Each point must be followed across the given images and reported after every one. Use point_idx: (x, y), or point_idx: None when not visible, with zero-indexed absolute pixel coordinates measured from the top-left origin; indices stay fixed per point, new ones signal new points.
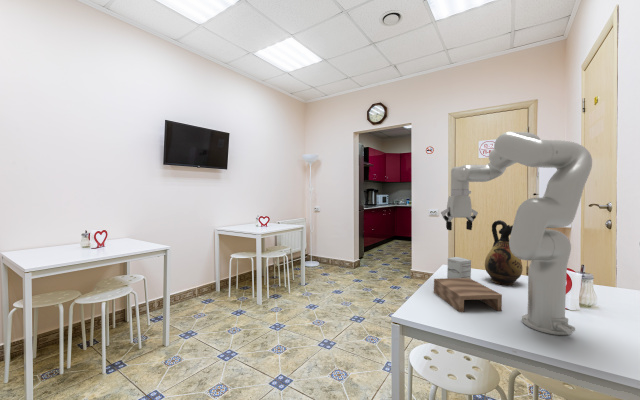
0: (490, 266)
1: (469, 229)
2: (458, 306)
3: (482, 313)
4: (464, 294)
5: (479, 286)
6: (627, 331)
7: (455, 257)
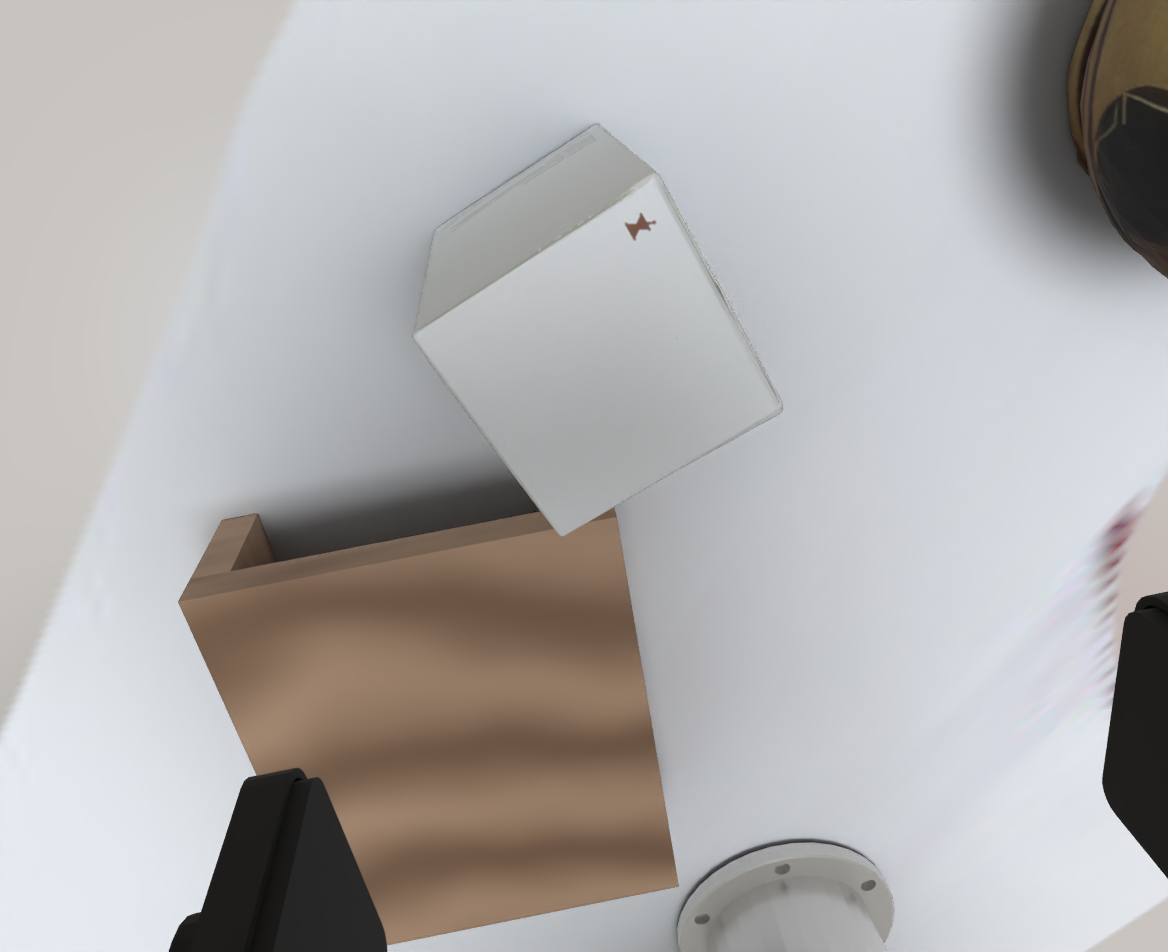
0: (1139, 157)
1: (1112, 772)
2: None
3: None
4: None
5: (594, 752)
6: (1147, 893)
7: (582, 261)
